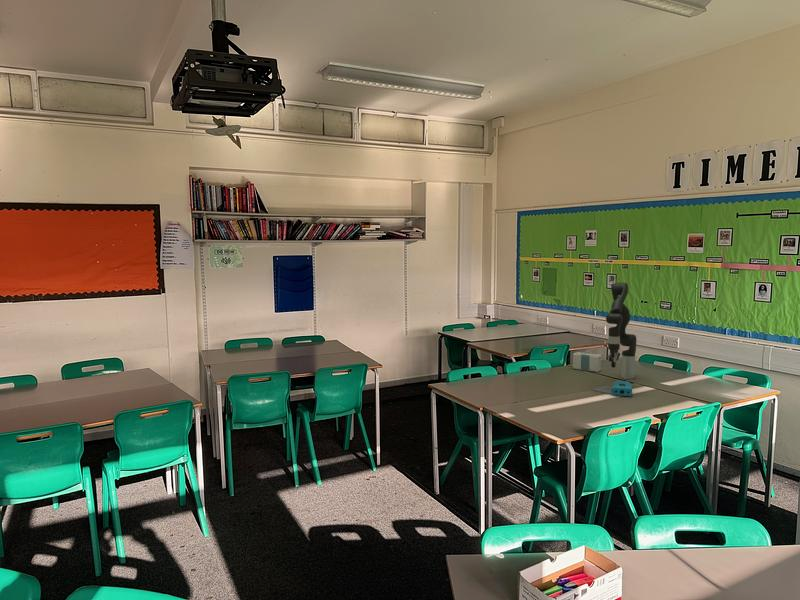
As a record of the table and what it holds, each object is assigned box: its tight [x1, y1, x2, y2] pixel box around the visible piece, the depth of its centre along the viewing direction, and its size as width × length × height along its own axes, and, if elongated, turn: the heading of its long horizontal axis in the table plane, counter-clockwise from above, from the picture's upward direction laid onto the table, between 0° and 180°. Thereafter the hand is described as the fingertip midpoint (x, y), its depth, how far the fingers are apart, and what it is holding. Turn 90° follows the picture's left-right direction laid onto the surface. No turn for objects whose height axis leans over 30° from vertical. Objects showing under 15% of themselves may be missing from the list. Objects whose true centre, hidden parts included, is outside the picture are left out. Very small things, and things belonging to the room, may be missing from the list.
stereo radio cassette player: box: [572, 346, 602, 373], centre depth 442 cm, size 21×8×20 cm, turn 50°
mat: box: [591, 385, 617, 396], centre depth 381 cm, size 15×18×1 cm
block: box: [612, 380, 633, 397], centre depth 375 cm, size 12×5×20 cm
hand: (613, 367), depth 381 cm, fingers closed
